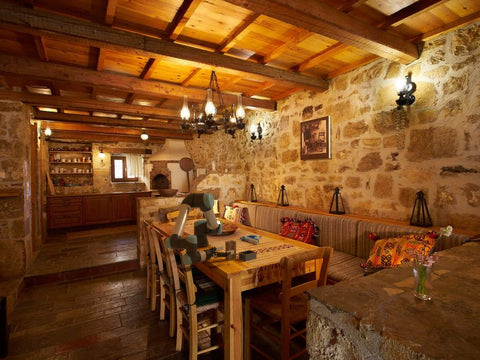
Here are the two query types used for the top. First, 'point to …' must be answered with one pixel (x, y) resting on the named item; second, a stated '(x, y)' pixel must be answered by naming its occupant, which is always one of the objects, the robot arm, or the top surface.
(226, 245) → the brown wooden block
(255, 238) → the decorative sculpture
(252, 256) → the endcap
